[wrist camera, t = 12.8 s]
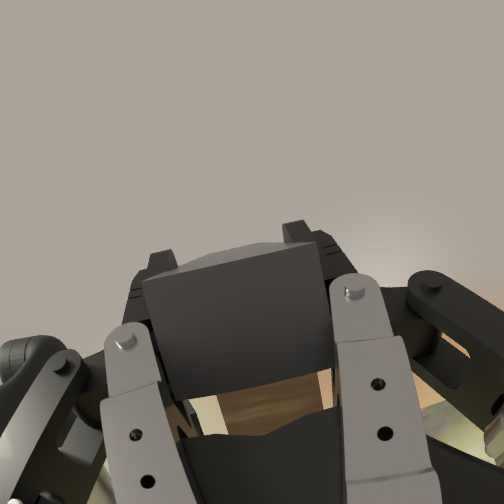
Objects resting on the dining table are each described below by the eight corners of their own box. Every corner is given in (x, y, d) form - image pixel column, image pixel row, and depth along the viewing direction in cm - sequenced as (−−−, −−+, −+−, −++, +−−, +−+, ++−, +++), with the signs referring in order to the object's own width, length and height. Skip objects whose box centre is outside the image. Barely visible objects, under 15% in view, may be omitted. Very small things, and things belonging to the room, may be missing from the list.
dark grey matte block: (338, 365, 7) (315, 242, 7) (175, 400, 7) (141, 281, 7) (266, 279, 26) (258, 242, 26) (218, 290, 26) (209, 253, 26)
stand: (337, 497, 36) (293, 256, 35) (258, 515, 36) (185, 281, 35) (319, 454, 49) (279, 253, 48) (253, 469, 48) (198, 271, 47)
